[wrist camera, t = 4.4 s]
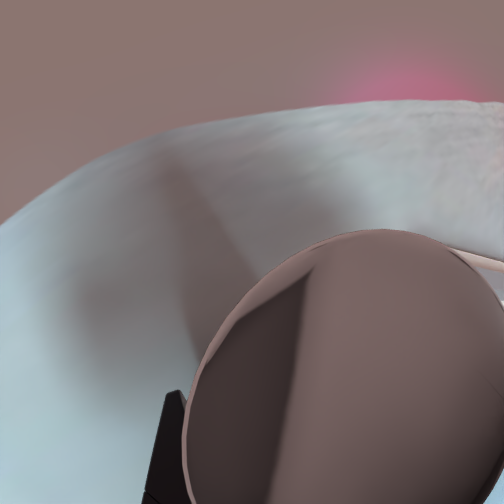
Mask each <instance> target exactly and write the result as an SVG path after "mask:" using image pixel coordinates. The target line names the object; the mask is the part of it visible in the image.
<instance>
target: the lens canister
mask: <svg viewBox="0 0 504 504" xmlns="http://www.w3.org/2000/svg"><path fill="white" fill-rule="evenodd" d="M182 466H183V471H184V477H185V482H186V487H187V491H188V494H189V497H190V500H191V502H192V504H483V503H484V502H485V500H486V499H487V497H488V496H489V494H490V493H491V491H492V490H493V488H494V486H495V484H496V482H497V481H498V479H499V477H500V475H501V473H502V471H503V469H504V306H503V304H502V302H501V301H500V299H499V297H498V295H497V294H496V292H495V291H494V289H493V288H492V287H491V285H490V284H489V283H488V281H487V280H486V279H485V277H484V276H483V275H482V274H481V273H480V272H479V271H478V270H477V269H476V268H475V267H474V266H473V265H472V264H471V263H470V262H469V261H467V260H466V259H465V258H464V257H462V256H461V255H460V254H459V253H457V252H456V251H454V250H452V249H451V248H449V247H447V246H446V245H444V244H442V243H440V242H438V241H435V240H433V239H430V238H428V237H426V236H423V235H419V234H415V233H411V232H407V231H400V230H389V229H375V230H361V231H356V232H351V233H346V234H341V235H338V236H335V237H332V238H329V239H326V240H324V241H321V242H318V243H315V244H314V245H312V246H310V247H308V248H306V249H304V250H302V251H300V252H298V253H297V254H295V255H293V256H291V257H290V258H288V259H287V260H286V261H284V262H283V263H281V264H280V265H279V266H277V267H276V268H274V269H273V270H272V271H270V272H269V273H268V274H267V275H265V276H264V277H263V278H262V279H261V280H260V281H259V282H258V283H257V284H256V285H255V286H254V287H253V288H252V289H250V290H249V291H248V292H247V293H246V294H245V296H244V297H243V298H242V299H241V300H240V302H239V303H238V304H237V305H236V306H235V308H234V309H233V310H232V311H231V313H230V314H229V315H228V316H227V317H226V319H225V320H224V322H223V323H222V325H221V327H220V328H219V330H218V331H217V333H216V335H215V336H214V338H213V339H212V341H211V343H210V344H209V346H208V348H207V350H206V352H205V355H204V357H203V359H202V361H201V363H200V365H199V368H198V370H197V372H196V374H195V377H194V380H193V384H192V387H191V390H190V394H189V397H188V401H187V404H186V409H185V416H184V423H183V430H182Z"/></svg>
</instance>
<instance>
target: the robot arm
mask: <svg viewBox="0 0 504 504" xmlns="http://www.w3.org/2000/svg"><path fill="white" fill-rule="evenodd" d="M186 404H187V401H186V399H185V397H184V396H183V394H182V392H181V391H180V390H175V391H172V392H169V393H167V394H166V397H165V401H164V405H163V409H162V413H161V418H160V422H159V426H158V430H157V434H156V439H155V443H154V447H153V452H152V456H151V461H150V465H149V470H148V475H147V479H146V484H145V491H144V493H143V498H142V503H141V504H192V502H191V500H190V497H189V494H188V491H187V487H186V482H185V477H184V471H183V466H182V430H183V423H184V416H185V409H186Z"/></svg>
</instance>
